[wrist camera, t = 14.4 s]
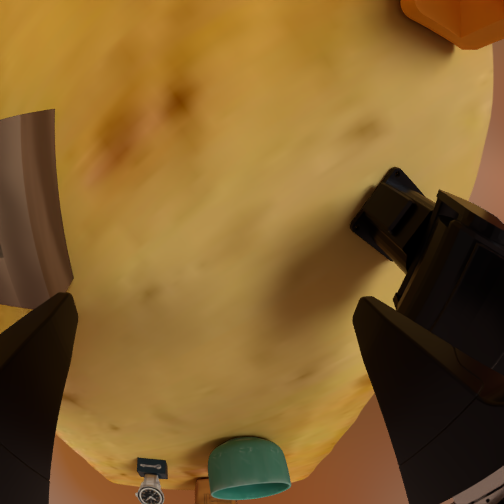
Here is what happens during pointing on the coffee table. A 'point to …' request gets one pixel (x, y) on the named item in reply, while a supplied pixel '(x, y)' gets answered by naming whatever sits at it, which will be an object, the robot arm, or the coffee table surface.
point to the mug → (247, 469)
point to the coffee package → (207, 494)
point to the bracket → (460, 20)
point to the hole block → (30, 213)
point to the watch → (151, 480)
